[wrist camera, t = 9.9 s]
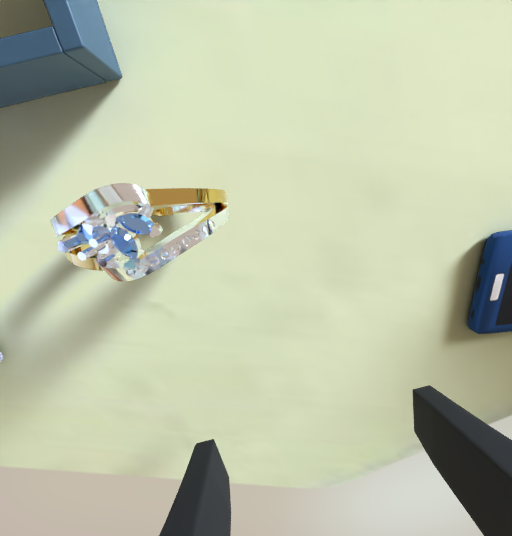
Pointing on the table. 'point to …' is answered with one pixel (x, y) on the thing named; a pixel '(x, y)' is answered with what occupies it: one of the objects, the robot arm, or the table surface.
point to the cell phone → (493, 287)
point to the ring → (134, 227)
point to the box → (57, 54)
